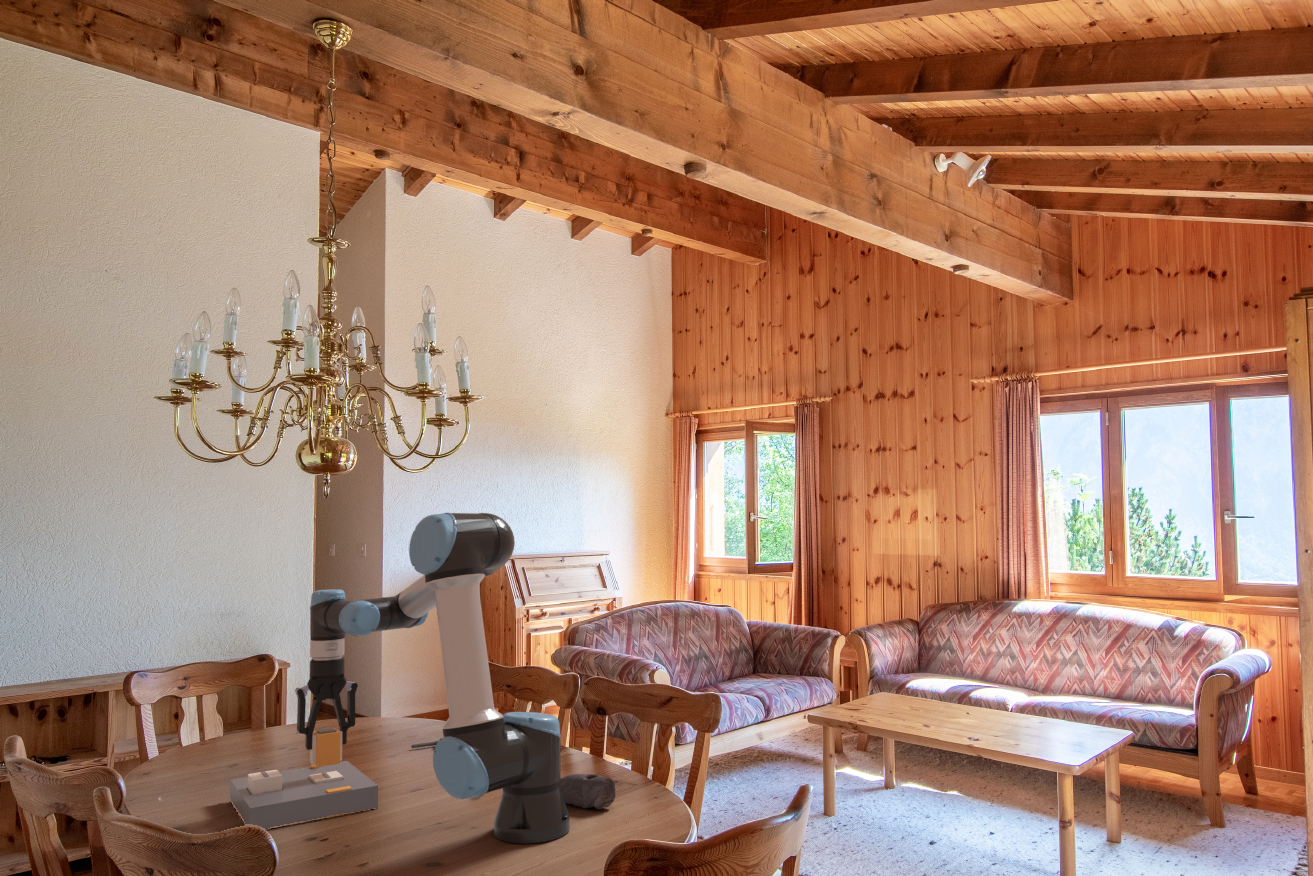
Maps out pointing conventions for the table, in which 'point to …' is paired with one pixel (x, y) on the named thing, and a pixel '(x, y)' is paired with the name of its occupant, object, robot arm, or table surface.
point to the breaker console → (305, 796)
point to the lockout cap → (327, 746)
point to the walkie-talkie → (425, 744)
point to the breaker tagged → (325, 777)
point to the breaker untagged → (264, 782)
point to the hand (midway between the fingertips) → (325, 761)
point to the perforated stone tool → (588, 790)
